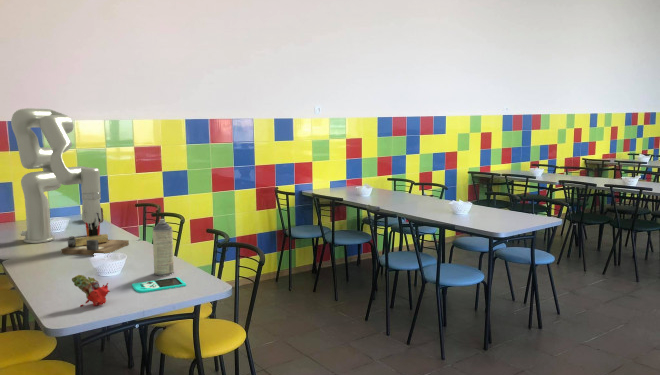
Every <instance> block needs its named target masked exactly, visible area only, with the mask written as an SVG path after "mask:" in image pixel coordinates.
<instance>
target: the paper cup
mask: <svg viewBox="0 0 660 375" xmlns="http://www.w3.org/2000/svg"><path fill="white" fill-rule="evenodd" d="M84 224H85V231H86V237H87V236H89V229H88V223H87V222H84ZM97 231H98V235H101V234H100V231H101V222H99V226H98V229H97Z"/></svg>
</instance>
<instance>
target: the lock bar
mask: <svg viewBox="0 0 660 375" xmlns="http://www.w3.org/2000/svg"><path fill="white" fill-rule="evenodd" d="M87 240H98V243H101V242H108V240H109V234H107V233H101V234H100V235H94V236H87V235H86V236H82V237H75V236H73V235H71V236H69V237H68V238H67V247H75V246H81V245H87Z"/></svg>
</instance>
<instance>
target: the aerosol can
mask: <svg viewBox="0 0 660 375" xmlns="http://www.w3.org/2000/svg"><path fill="white" fill-rule="evenodd" d="M173 235H174V234H173V227H172V226H170V224H168V223H167V222H166V220H165V219H164V218H160V219H159V222H157V224H156V225H155V227H153V228H152V244H153V245H152V249H153V269H154V270H153V272H154V275H155V276H157V275H159V277H164V276H163V275H166V276H170V274H171V275H173V274H174V273H175V271H174V270H175V269H174V239H173V238H174V236H173ZM172 273H173V274H172Z"/></svg>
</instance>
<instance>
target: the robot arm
mask: <svg viewBox="0 0 660 375" xmlns="http://www.w3.org/2000/svg"><path fill="white" fill-rule="evenodd" d="M10 122H11V129H12V131H13V134H14V136H15V139H16V144H17V148H18V149H17V150H18V154H19V160H20V164H21V166H22V167H23V168H24V169H27V170H36V169H37V170H38V169H42V171H41V170H38V171H32V172H30V171H29V172H27V173H25V174H24V175H23V176H22V177H21V180H20V185H21V189H22V192H23V196H24V205H25V220H26V222H25V223H26V230H22V231H21V232H20V234H19V235H20V236H23V237H24V238H23V243H27V244H41V243H47V242H52V241H54V240H55V239H56V238H55V235H52V234H51V232H52V230H51V220H50V219H51V218H50V203H49V199H48V197H47V196H46V193H45V192H53V191H56V190H57V191H58V190H59V189H60V188H61V186H62V185H64V186H72V185H79V184H80V185H81V186H80V187H81V189H80V191H81V201H82V204H81V219H82V221H83V222H84V223H85V222H87V223H88V229H89V236H94V235H98V231H97V229H98V226H99V222H100V223H102V222H101V208H102V205H101V202H100V201H101V199H102V198H101V196H102V195H101V174H100V172H101V171H100V169H99V168H98V167H88V166H84V165H83V166H81V165H80V166H71V167H70V166H69V167H67V166H66V164H65V162H64V160H63V154H64V153H66V152H67V151H69V150H70V149H71V148H72V146H73V142H72V141H71V139H70V137H69V136H68V134H70V133H72V132H73V130H74V122H73V120H72V119H71V117H70V116H68V115H66V114H64V113H62V112H59V111H56V110H53V109H49V108H32V107H31V108H29V107H28V108H21V109H18V110H16V111H15V112H14V113H13V114H12V116H11V121H10ZM33 128H39V129H40V130H41V132H42V133H43V137H44V138H45V139H46V141H47V144H48V146H49V147H48V146H47V147H45V146H44V147H41V146H40V143H39V137H38V135H37V134H36V133H35V131H33Z"/></svg>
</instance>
